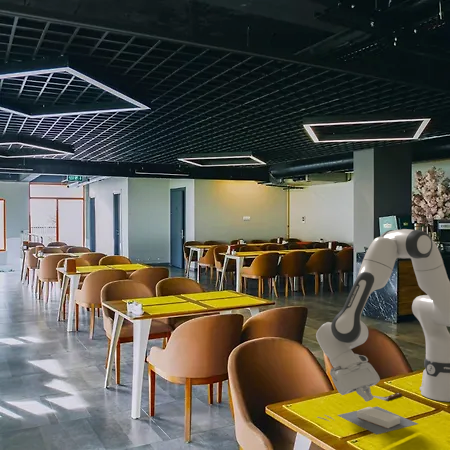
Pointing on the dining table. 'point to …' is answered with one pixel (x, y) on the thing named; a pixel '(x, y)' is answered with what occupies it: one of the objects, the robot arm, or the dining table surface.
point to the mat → (373, 427)
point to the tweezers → (325, 419)
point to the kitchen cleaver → (389, 397)
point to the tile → (378, 417)
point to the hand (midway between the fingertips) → (369, 399)
